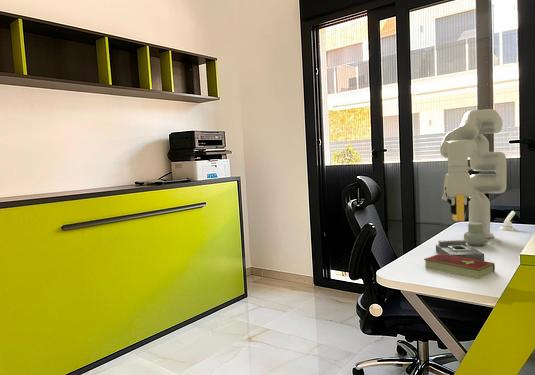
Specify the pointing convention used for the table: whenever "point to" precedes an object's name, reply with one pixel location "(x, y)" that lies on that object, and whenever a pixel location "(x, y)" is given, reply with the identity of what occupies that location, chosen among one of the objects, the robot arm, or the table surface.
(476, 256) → the grey box with slot
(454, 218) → the brass peg in socket
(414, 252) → the table surface
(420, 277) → the table surface
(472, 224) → the air freshener
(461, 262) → the hardcover book
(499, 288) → the table surface
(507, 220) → the hook
